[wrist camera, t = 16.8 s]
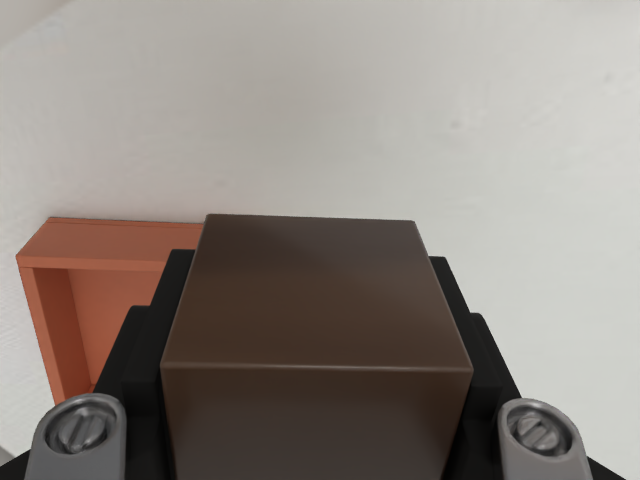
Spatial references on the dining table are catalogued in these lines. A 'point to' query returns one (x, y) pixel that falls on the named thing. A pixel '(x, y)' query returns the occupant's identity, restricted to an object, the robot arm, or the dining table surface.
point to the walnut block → (312, 354)
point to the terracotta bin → (91, 289)
